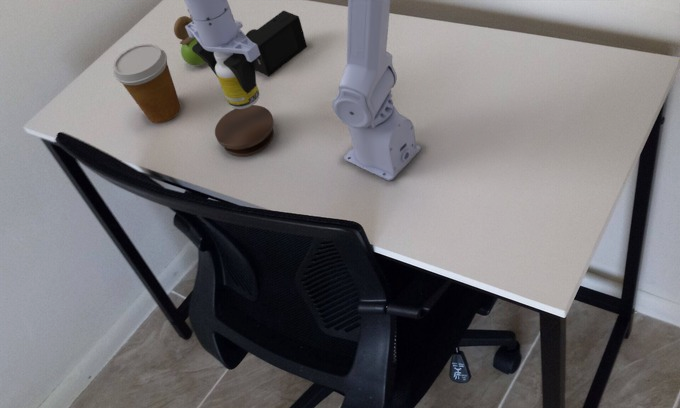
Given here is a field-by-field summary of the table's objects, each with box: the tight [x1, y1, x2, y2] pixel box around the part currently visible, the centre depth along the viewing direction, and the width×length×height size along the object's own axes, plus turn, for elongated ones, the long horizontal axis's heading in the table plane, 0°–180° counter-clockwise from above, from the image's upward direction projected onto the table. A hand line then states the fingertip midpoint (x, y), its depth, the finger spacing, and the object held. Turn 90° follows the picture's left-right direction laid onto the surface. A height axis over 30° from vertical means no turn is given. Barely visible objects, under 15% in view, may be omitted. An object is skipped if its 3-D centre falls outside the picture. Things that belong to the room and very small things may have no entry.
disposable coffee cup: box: [112, 43, 182, 124], centre depth 120 cm, size 10×10×12 cm
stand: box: [214, 104, 275, 158], centre depth 113 cm, size 10×10×3 cm
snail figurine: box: [173, 9, 206, 67], centre depth 128 cm, size 5×6×12 cm
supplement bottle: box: [214, 52, 261, 109], centre depth 107 cm, size 5×5×10 cm
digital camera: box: [245, 10, 308, 78], centre depth 126 cm, size 10×5×7 cm, turn 136°
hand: (238, 83), depth 108 cm, fingers closed on supplement bottle, 5 cm apart
